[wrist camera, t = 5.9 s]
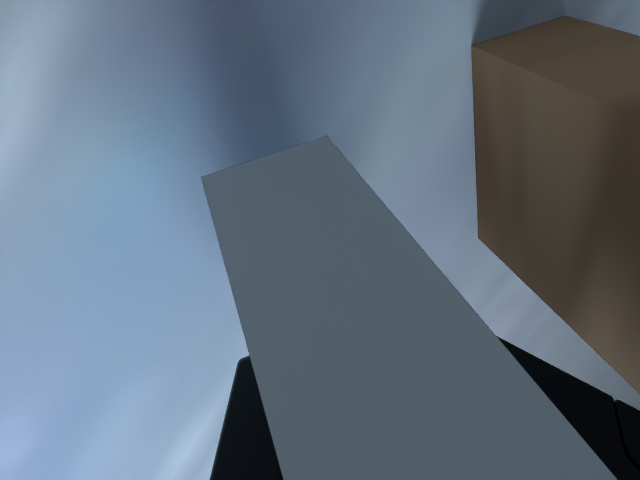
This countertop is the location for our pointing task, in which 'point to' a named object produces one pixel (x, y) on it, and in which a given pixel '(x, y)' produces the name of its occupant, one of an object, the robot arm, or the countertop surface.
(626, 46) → the brown rectangular block
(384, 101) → the countertop surface
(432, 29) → the countertop surface
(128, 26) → the countertop surface
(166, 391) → the countertop surface
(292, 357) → the block
